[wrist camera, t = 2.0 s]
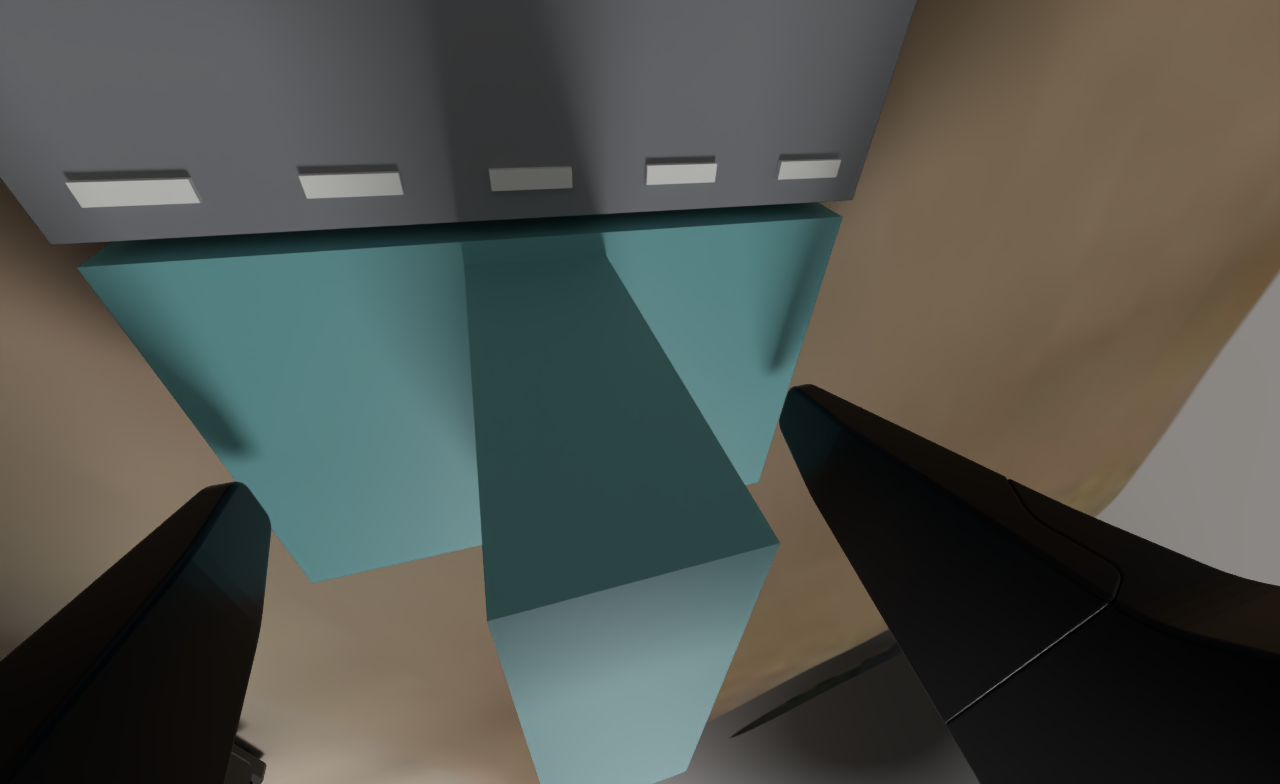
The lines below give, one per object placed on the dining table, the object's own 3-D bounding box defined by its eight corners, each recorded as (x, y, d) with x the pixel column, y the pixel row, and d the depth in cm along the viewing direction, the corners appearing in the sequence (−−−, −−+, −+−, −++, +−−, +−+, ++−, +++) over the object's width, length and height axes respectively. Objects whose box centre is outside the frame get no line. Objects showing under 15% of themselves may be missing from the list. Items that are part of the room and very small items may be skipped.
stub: (319, 549, 10) (228, 954, 6) (113, 239, 6) (-778, 906, 2) (743, 459, 13) (893, 694, 8) (815, 201, 8) (1188, 413, 4)
